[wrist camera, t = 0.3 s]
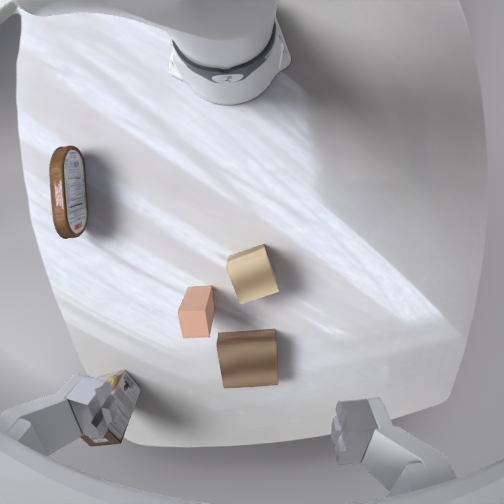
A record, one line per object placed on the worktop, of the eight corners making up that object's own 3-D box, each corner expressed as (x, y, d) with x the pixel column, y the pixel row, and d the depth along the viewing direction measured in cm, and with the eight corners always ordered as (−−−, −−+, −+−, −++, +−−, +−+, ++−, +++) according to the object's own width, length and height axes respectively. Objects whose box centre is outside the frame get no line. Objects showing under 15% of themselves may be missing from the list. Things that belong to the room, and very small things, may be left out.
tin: (72, 147, 43) (45, 147, 35) (87, 144, 43) (60, 143, 35) (78, 232, 48) (53, 244, 40) (93, 231, 48) (68, 244, 40)
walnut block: (218, 332, 53) (216, 345, 49) (274, 328, 53) (276, 341, 49) (225, 374, 56) (223, 388, 52) (276, 371, 56) (278, 384, 52)
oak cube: (228, 255, 49) (226, 268, 44) (263, 243, 49) (266, 255, 43) (241, 288, 51) (240, 304, 45) (275, 276, 50) (279, 291, 45)
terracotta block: (188, 286, 51) (177, 311, 42) (211, 285, 51) (205, 310, 42) (192, 310, 52) (183, 338, 43) (214, 309, 52) (209, 337, 43)
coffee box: (113, 397, 59) (89, 447, 43) (96, 377, 57) (67, 426, 41) (142, 389, 58) (121, 444, 42) (125, 368, 56) (98, 421, 40)
